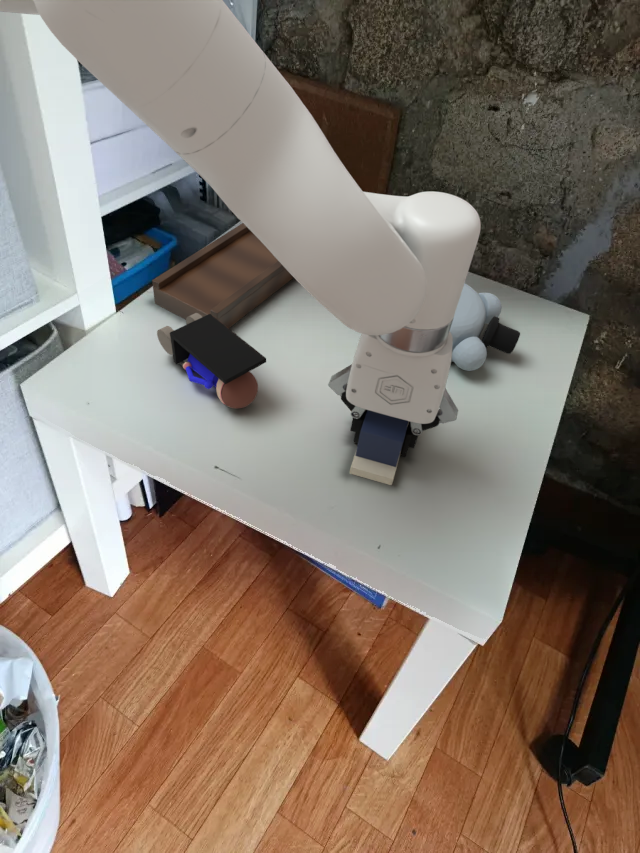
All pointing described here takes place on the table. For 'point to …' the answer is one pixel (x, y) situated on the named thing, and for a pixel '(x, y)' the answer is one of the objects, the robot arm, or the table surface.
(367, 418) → the blue milk carton
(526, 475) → the table surface
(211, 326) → the figurine character
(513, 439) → the table surface
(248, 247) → the brown wooden tray
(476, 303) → the figurine
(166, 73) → the robot arm
